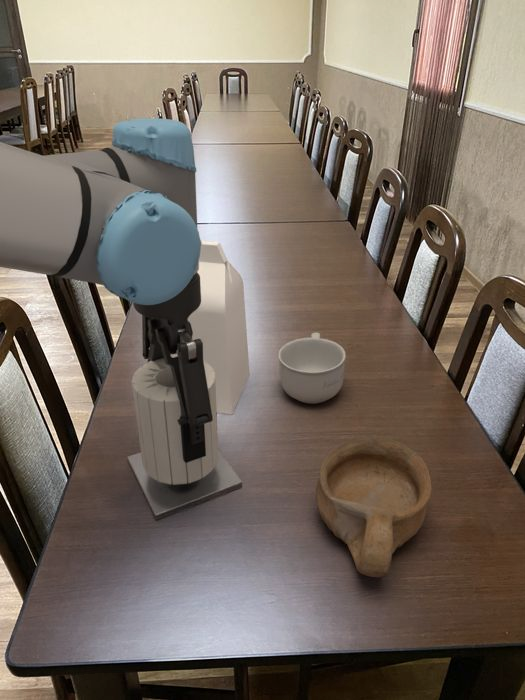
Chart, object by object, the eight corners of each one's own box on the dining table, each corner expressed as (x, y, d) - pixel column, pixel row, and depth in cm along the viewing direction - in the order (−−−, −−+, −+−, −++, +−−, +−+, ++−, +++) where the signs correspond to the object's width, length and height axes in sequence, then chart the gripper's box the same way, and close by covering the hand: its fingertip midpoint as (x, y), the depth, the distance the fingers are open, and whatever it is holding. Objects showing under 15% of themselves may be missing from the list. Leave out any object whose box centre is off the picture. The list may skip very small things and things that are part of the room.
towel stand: (156, 520, 67) (145, 437, 60) (128, 461, 76) (115, 383, 69) (242, 487, 72) (241, 406, 65) (206, 435, 81) (201, 359, 74)
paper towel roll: (157, 494, 66) (147, 410, 60) (133, 447, 74) (121, 367, 67) (230, 468, 70) (228, 386, 64) (200, 425, 78) (196, 348, 71)
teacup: (332, 418, 85) (336, 376, 80) (268, 403, 88) (268, 362, 84) (352, 373, 96) (356, 334, 92) (294, 361, 99) (296, 323, 95)
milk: (161, 404, 87) (144, 252, 74) (185, 366, 97) (174, 226, 84) (232, 414, 85) (228, 260, 72) (249, 375, 95) (248, 232, 81)
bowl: (470, 584, 58) (463, 525, 53) (343, 614, 59) (324, 560, 54) (416, 467, 73) (407, 412, 68) (316, 493, 74) (300, 441, 69)
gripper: (243, 307, 52) (243, 478, 63) (162, 237, 69) (174, 382, 80) (168, 324, 48) (183, 500, 60) (103, 246, 65) (125, 395, 77)
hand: (178, 432), depth 70 cm, fingers closed on paper towel roll, 10 cm apart
